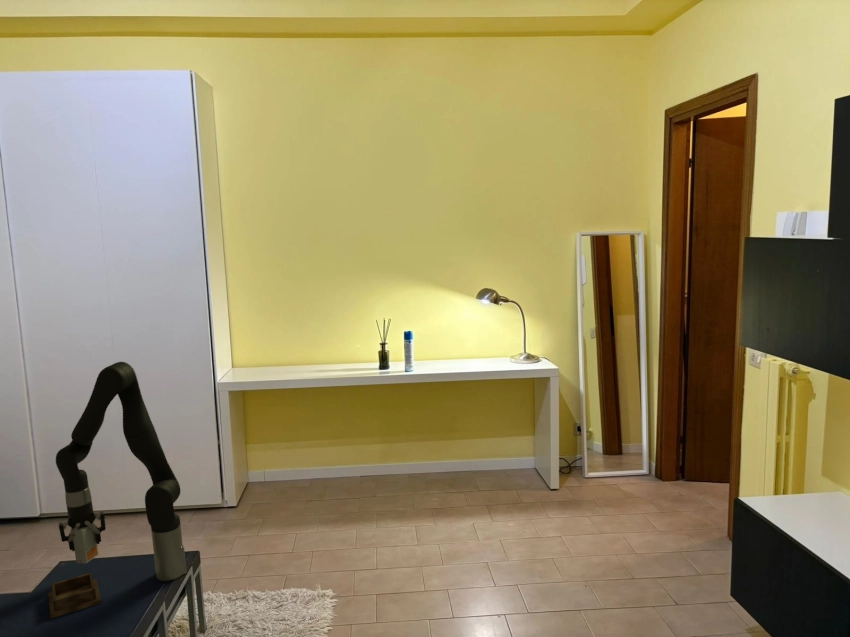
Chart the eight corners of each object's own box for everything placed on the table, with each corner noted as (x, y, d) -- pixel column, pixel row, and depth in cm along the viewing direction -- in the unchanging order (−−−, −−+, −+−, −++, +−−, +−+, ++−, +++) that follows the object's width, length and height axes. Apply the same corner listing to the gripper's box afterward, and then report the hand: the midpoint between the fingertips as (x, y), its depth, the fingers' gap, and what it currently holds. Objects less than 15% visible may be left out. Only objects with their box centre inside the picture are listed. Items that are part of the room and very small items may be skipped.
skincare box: (87, 563, 216) (81, 530, 215) (76, 563, 217) (70, 530, 215) (99, 554, 222) (94, 522, 220) (88, 553, 223) (83, 521, 221)
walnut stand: (96, 582, 216) (95, 569, 215) (101, 603, 204) (99, 589, 203) (49, 596, 209) (47, 583, 208) (50, 618, 197) (48, 604, 196)
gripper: (101, 491, 223) (107, 536, 226) (54, 503, 216) (61, 549, 219) (103, 499, 217) (110, 544, 220) (55, 511, 210) (62, 558, 212)
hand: (85, 546), depth 219 cm, fingers closed on skincare box, 7 cm apart
